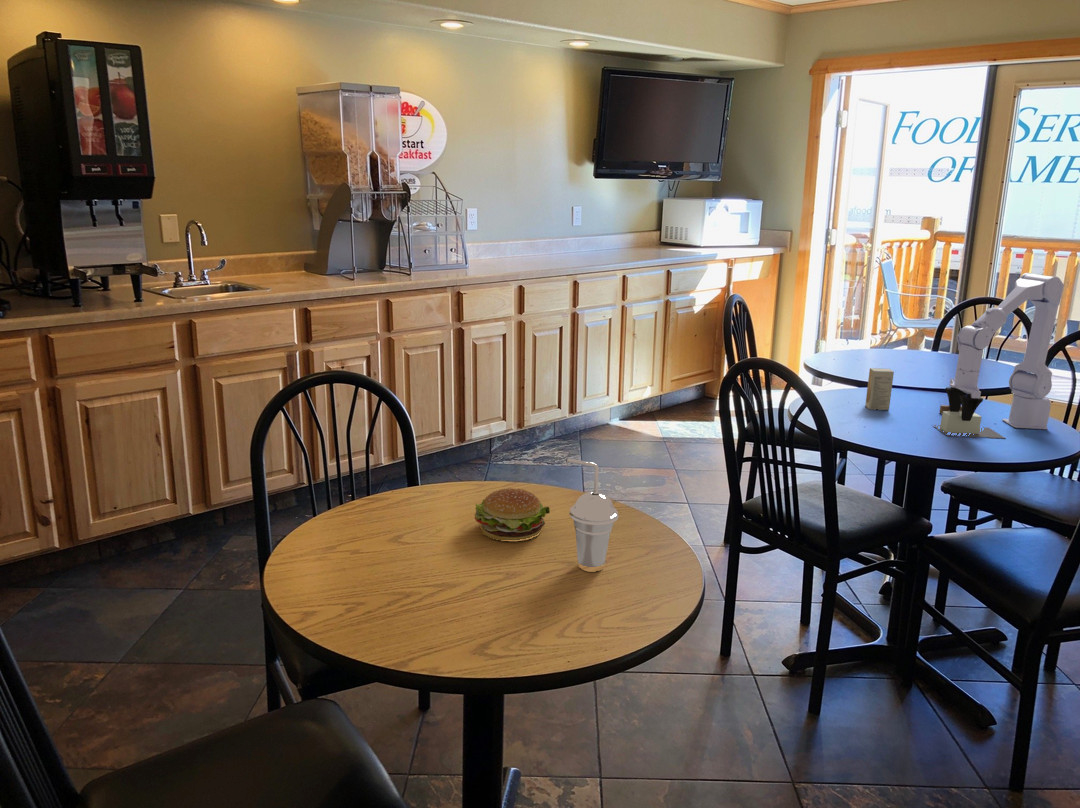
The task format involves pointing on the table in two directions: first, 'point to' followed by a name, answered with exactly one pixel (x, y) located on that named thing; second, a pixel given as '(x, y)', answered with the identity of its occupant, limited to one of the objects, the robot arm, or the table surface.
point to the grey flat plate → (985, 433)
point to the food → (511, 514)
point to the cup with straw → (592, 522)
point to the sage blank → (959, 423)
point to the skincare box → (879, 388)
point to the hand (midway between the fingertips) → (959, 416)
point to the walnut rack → (947, 408)
